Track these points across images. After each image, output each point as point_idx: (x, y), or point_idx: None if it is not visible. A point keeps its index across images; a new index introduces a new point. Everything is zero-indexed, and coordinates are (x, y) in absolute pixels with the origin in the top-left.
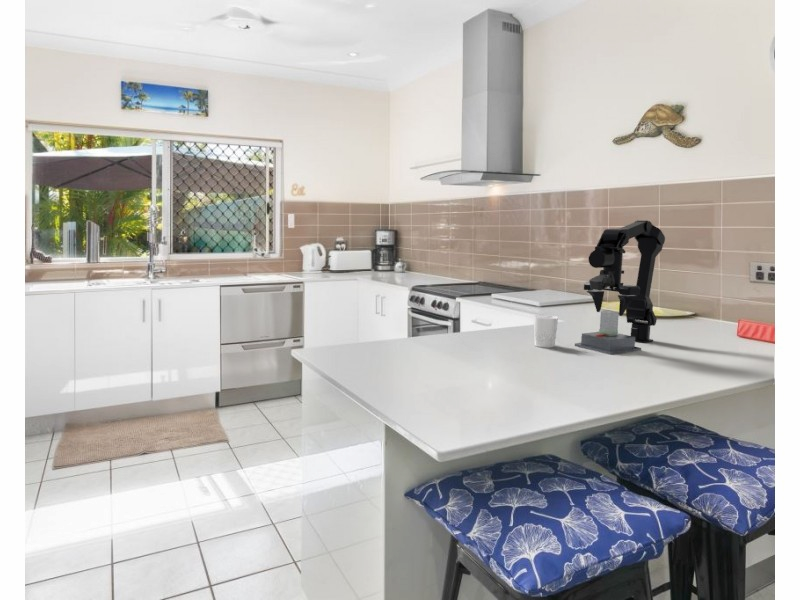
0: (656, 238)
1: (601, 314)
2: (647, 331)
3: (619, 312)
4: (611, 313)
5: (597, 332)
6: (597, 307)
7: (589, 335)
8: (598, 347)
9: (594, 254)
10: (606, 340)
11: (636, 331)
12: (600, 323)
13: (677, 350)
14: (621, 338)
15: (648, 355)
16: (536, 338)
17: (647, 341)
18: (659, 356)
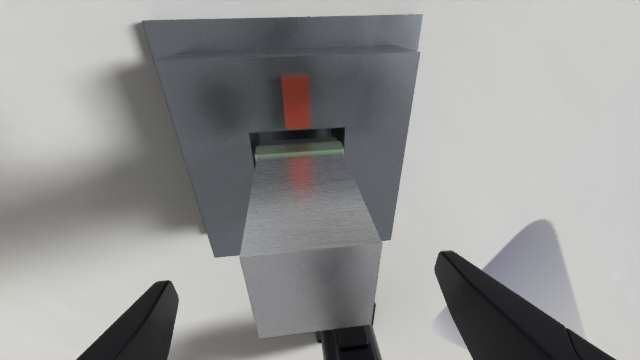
0: None
1: (360, 219)
2: (323, 357)
3: (146, 306)
4: (242, 261)
5: (387, 176)
6: (469, 283)
7: (350, 54)
8: (265, 48)
9: None
10: (196, 58)
11: (341, 335)
12: (347, 172)
13: (183, 321)
14: (188, 168)
15: (110, 192)
16: None
17: None
18: (85, 217)
